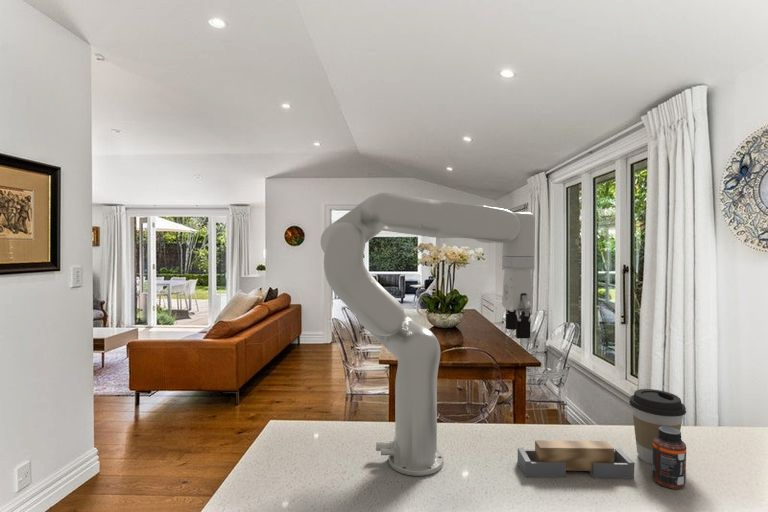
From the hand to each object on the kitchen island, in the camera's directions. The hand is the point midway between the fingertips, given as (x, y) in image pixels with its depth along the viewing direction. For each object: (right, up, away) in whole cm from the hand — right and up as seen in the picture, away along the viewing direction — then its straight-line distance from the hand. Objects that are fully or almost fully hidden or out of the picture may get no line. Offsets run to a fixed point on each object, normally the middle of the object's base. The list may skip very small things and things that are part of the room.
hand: (517, 333), depth 108 cm
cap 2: (+17, -29, -10) cm, 35 cm away
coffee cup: (+31, -29, -5) cm, 42 cm away
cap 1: (+2, -29, -9) cm, 30 cm away
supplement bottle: (+28, -29, -14) cm, 43 cm away
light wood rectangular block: (+10, -28, -9) cm, 31 cm away
